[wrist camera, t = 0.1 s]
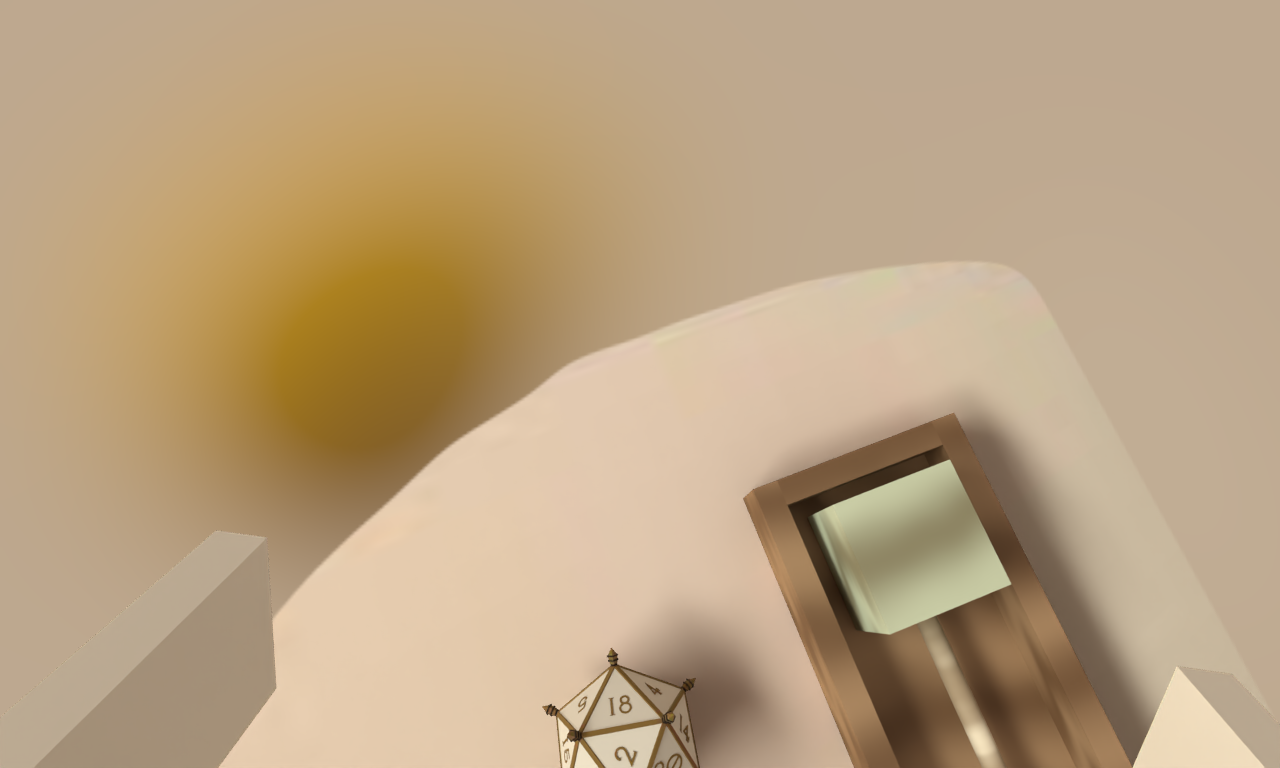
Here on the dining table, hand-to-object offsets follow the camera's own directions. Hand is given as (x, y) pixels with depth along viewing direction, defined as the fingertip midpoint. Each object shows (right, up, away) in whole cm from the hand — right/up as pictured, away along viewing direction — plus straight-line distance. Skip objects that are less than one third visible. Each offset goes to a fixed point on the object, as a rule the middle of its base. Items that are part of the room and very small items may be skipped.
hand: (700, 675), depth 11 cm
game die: (-2, -16, +33) cm, 37 cm away
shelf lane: (+17, -15, +33) cm, 40 cm away
